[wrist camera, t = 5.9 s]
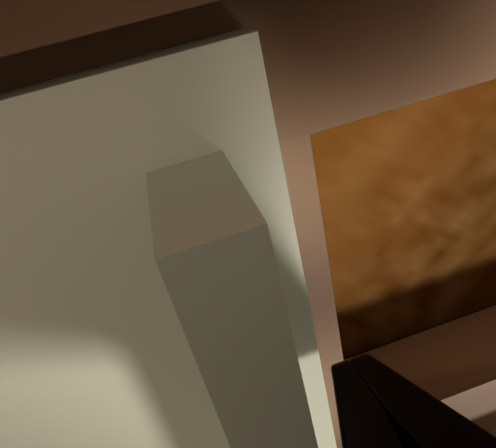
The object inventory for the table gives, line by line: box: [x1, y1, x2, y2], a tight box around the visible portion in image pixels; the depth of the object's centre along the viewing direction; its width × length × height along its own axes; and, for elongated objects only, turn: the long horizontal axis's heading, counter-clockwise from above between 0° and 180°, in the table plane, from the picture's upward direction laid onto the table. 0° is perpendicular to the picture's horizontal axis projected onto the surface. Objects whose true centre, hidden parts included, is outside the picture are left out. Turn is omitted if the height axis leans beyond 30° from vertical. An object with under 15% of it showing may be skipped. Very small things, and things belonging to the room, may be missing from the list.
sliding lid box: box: [0, 0, 496, 448], centre depth 11 cm, size 16×20×4 cm
